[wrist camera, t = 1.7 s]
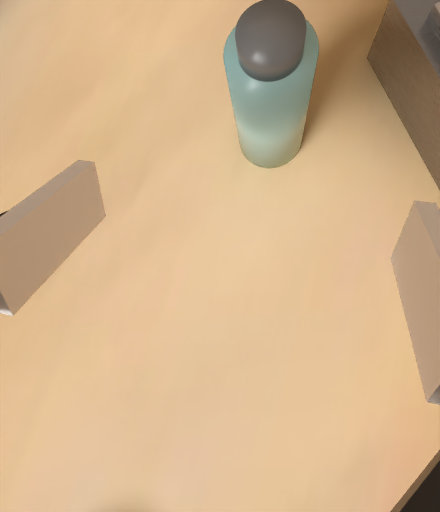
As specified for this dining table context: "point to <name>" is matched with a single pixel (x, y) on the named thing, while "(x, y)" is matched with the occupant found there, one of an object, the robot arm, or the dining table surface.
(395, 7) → the square hollow holder
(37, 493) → the dining table surface
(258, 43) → the teal bottle
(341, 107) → the dining table surface
